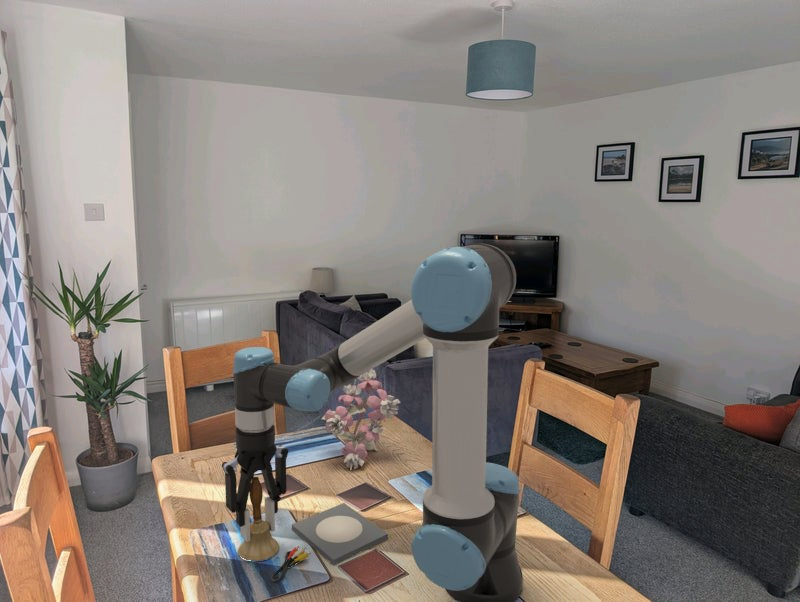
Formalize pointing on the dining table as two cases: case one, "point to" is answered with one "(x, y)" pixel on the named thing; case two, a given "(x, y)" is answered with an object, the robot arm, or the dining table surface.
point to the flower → (360, 418)
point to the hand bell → (258, 530)
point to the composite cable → (290, 562)
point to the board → (339, 533)
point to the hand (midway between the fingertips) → (257, 532)
